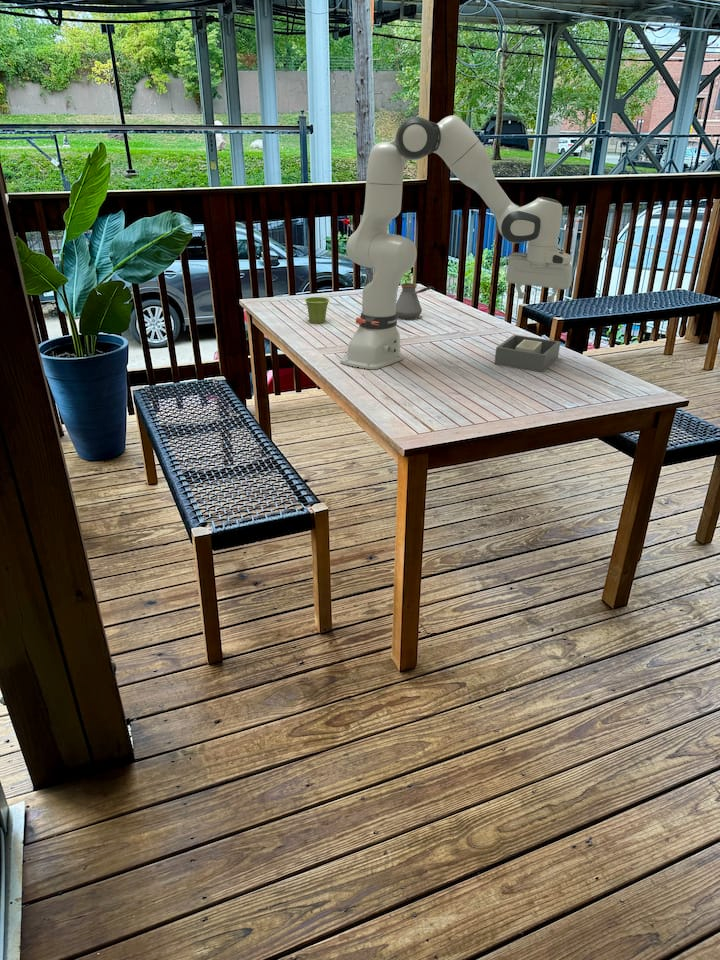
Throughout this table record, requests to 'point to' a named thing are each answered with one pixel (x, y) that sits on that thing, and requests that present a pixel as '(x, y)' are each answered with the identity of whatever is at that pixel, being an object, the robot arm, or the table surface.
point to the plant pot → (317, 309)
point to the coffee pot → (409, 301)
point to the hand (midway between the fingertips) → (535, 300)
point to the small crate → (529, 346)
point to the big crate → (527, 354)
